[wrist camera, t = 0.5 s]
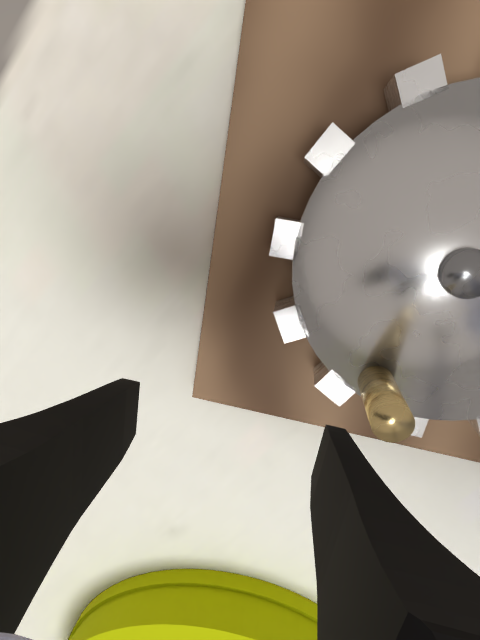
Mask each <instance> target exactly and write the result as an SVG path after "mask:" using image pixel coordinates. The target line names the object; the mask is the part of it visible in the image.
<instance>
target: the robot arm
mask: <svg viewBox="0 0 480 640" xmlns="http://www.w3.org/2000/svg"><path fill="white" fill-rule="evenodd" d="M139 387H140V382H137V381H132V380H128V379H124V378H122V379H119V380H116V381H114V382H111V383H109V384H106V385H104V386H102V387H100V388H97V389H95V390H93V391H90V392H88V393H86V394H83V395H81V396H78V397H76V398H74V399H71V400H69V401H66V402H63V403H61V404H58V405H56V406H53V407H50V408H48V409H45V410H42V411H40V412H37V413H34V414H31V415H27V416H24V417H21V418H17V419H14V420H10V421H7V422H3V423H0V640H32V639H29V638H25V637H22V636H19V635H16V634H14V633H15V631H16V629H17V627H18V626H19V624H20V622H21V620H22V618H23V616H24V614H25V612H26V611H27V609H28V607H29V605H30V603H31V601H32V599H33V597H34V596H35V594H36V592H37V590H38V588H39V587H40V585H41V583H42V581H43V580H44V578H45V576H46V574H47V572H48V571H49V569H50V567H51V565H52V563H53V562H54V560H55V558H56V557H57V555H58V553H59V551H60V550H61V548H62V546H63V545H64V543H65V541H66V539H67V538H68V536H69V534H70V533H71V531H72V529H73V528H74V526H75V525H76V523H77V522H78V520H79V519H80V517H81V516H82V515H83V513H84V512H85V510H86V509H87V508H88V506H89V505H90V504H91V502H92V501H93V499H94V498H95V497H96V495H97V494H98V493H99V491H100V490H101V488H102V487H103V486H104V484H105V483H106V482H107V480H108V479H109V477H110V476H111V475H112V473H113V472H114V470H115V469H116V467H117V466H118V465H119V463H120V462H121V460H122V459H123V457H124V455H125V453H126V451H127V450H128V448H129V446H130V444H131V442H132V440H133V438H134V436H135V434H136V425H137V412H138V400H139ZM310 509H311V521H312V533H313V545H314V556H315V567H316V579H317V640H480V577H479V576H478V575H477V574H476V573H474V572H473V571H472V570H471V569H470V568H468V567H467V566H466V565H465V564H464V563H462V562H461V561H460V560H459V559H458V558H457V557H456V556H454V555H453V554H452V553H451V552H450V551H449V550H448V549H447V548H445V547H444V546H443V545H442V544H441V543H440V542H439V541H438V540H437V539H436V538H434V537H433V536H432V535H431V534H430V533H429V532H428V531H427V530H426V529H425V528H424V527H423V526H422V525H421V524H420V523H419V522H418V521H417V520H416V519H415V518H414V516H413V515H412V514H411V513H410V512H409V511H408V510H407V509H406V508H405V507H404V506H403V505H402V504H401V502H400V501H399V500H398V499H397V498H396V497H395V495H394V494H393V493H392V492H391V491H390V489H389V488H388V487H387V486H386V485H385V483H384V482H383V481H382V480H381V478H380V477H379V476H378V474H377V473H376V472H375V470H374V469H373V468H372V466H371V465H370V464H369V462H368V461H367V459H366V458H365V457H364V455H363V454H362V452H361V451H360V449H359V448H358V447H357V445H356V444H355V442H354V441H353V439H352V438H351V436H350V435H349V433H348V432H347V430H346V429H344V428H340V427H335V426H331V425H326V426H325V429H324V433H323V437H322V440H321V444H320V447H319V451H318V455H317V458H316V462H315V465H314V469H313V472H312V476H311V501H310Z"/></svg>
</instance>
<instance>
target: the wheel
mask: <svg viewBox="0 0 480 640" xmlns="http://www.w3.org/2000/svg"><path fill="white" fill-rule="evenodd" d="M383 90H384V94H385V98H386V102H387V106H388V110H389V112H388V113H387V114H385V115H384V116H382V117H381V118H379V119H378V120H376V121H375V122H374V123H372V124H371V125H370V126H369V127H368V128H366V129H365V130H364V131H363V132H362V133H360V134H359V135H358V136H357V137H356V138H355V139H354V140H351V139H350V138H349V137H348V136H347V135H346V134H345V133H344V132H343V131H342V130H341V129H339V128H338V127H337V126H336V125H335V124H334V123H333V122H332V123H331V125H330V126H329V127H328V128H327V130H326V131H325V132H324V133H323V135H322V136H321V137H320V138H319V140H318V141H317V142H316V143H315V145H314V146H313V147H312V148H311V150H310V151H309V152H308V153H307V155H306V156H305V157H304V163H305V164H306V165H308V166H309V167H310V168H311V169H312V170H313V171H314V172H315V173H317V174H318V175H319V176H320V177H321V179H320V180H319V182H318V184H317V186H316V187H315V189H314V191H313V193H312V194H311V196H310V198H309V200H308V203H307V205H306V207H305V210H304V212H303V215H302V217H301V220H296V219H290V218H285V217H279V216H278V217H277V218H276V220H275V226H274V231H273V236H272V242H271V247H270V252H269V256H274V257H279V258H284V259H290V260H293V261H292V286H293V294H294V296H291V297H287V298H284V299H281V300H278V301H276V303H275V307H274V311H273V313H274V316H275V319H276V321H277V324H278V327H279V330H280V332H281V335H282V338H283V341H284V343H288V342H291V341H295V340H298V339H301V338H305V337H306V338H307V340H308V342H309V343H310V345H311V347H312V348H313V350H314V352H315V353H316V355H317V356H318V358H319V359H320V360H321V361H320V362H319V363H318V364H317V365H316V366H315V367H314V368H313V371H314V384H315V387H316V388H317V389H319V390H320V391H321V392H322V393H323V394H325V395H326V396H327V397H328V398H329V399H331V400H332V401H333V402H334V403H335V404H337V405H338V406H339V407H340V406H341V405H342V404H343V403H344V402H345V401H347V400H348V399H349V398H350V397H351V396H352V395H353V394H354V393H356V394H358V395H359V396H361V397H362V400H363V404H364V407H365V410H366V413H367V417H368V420H369V423H370V426H371V429H372V432H373V433H374V435H375V436H376V437H377V438H379V439H381V440H383V441H386V442H400V441H403V440H405V439H406V438H408V437H409V436H410V435H412V436H416V437H420V438H422V436H423V433H424V431H425V428H426V425H427V423H428V420H429V419H431V420H448V421H457V420H468V421H469V423H470V424H471V425H472V427H473V428H474V429H475V431H476V432H477V433H478V435H479V436H480V78H474V79H470V80H465V81H461V82H456V83H451V84H448V85H447V80H446V75H445V71H444V66H443V61H442V56H441V54H439V55H436V56H434V57H432V58H430V59H427V60H425V61H423V62H421V63H418V64H416V65H414V66H412V67H409V68H407V69H405V70H403V71H400V72H398V73H396V74H394V76H393V77H392V78H391V80H390V81H389V82H388V84H387V85H386V86H385V88H384V89H383Z"/></svg>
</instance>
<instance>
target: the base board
mask: <svg viewBox="0 0 480 640" xmlns="http://www.w3.org/2000/svg"><path fill="white" fill-rule="evenodd" d="M439 54H441V56H442V61H443V66H444V71H445V75H446V80H447V85H448V84H451V83H456V82H461V81H465V80H470V79H474V78H480V0H246V3H245V11H244V18H243V26H242V33H241V40H240V48H239V55H238V63H237V70H236V77H235V85H234V92H233V100H232V107H231V114H230V122H229V129H228V137H227V144H226V151H225V159H224V166H223V174H222V181H221V188H220V196H219V203H218V211H217V218H216V225H215V233H214V240H213V248H212V255H211V262H210V270H209V277H208V285H207V292H206V299H205V307H204V314H203V322H202V329H201V336H200V344H199V351H198V359H197V366H196V373H195V381H194V388H193V396H192V397H195V398H199V399H203V400H208V401H212V402H217V403H221V404H225V405H230V406H234V407H239V408H243V409H247V410H252V411H256V412H261V413H265V414H269V415H274V416H278V417H282V418H287V419H291V420H296V421H300V422H304V423H309V424H313V425H318V426H322V427H325V426H326V425H331V426H335V427H340V428H344V429H346V430H347V432H348V433H353V434H357V435H361V436H366V437H370V438H375V439H379V438H377V437H376V436H375V435H374V433H373V432H372V429H371V426H370V423H369V420H368V417H367V413H366V410H365V407H364V404H363V400H362V397H361V396H359V395H358V394H356V393H354V394H353V395H352V396H351V397H350V398H349V399H348V400H347V401H345V402H344V403H343V404H342V405H341V406H340V407H339V406H338V405H337V404H335V403H334V402H333V401H332V400H331V399H329V398H328V397H327V396H326V395H325V394H323V393H322V392H321V391H320V390H319V389H317V388H316V387H315V384H314V371H313V368H314V367H315V366H316V365H317V364H318V363H319V362H320V361H321V360H320V359H319V358H318V356H317V355H316V353H315V352H314V350H313V348H312V347H311V345H310V343H309V342H308V340H307V338H306V337H305V338H301V339H298V340H295V341H291V342H288V343H284V341H283V338H282V335H281V332H280V330H279V327H278V324H277V321H276V319H275V316H274V313H273V311H274V307H275V303H276V301H278V300H281V299H284V298H287V297H291V296H294V294H293V286H292V261H293V260H290V259H284V258H279V257H274V256H269V252H270V247H271V242H272V236H273V231H274V226H275V220H276V218H277V217H278V216H279V217H285V218H290V219H296V220H301V217H302V215H303V212H304V210H305V207H306V205H307V203H308V200H309V198H310V196H311V194H312V193H313V191H314V189H315V187H316V186H317V184H318V182H319V180H320V179H321V177H320V176H319V175H318V174H317V173H315V172H314V171H313V170H312V169H311V168H310V167H309V166H308V165H306V164H305V163H304V157H305V156H306V155H307V153H308V152H309V151H310V150H311V148H312V147H313V146H314V145H315V143H316V142H317V141H318V140H319V138H320V137H321V136H322V135H323V133H324V132H325V131H326V130H327V128H328V127H329V126H330V125H331V123H332V122H333V123H334V124H335V125H336V126H337V127H338V128H339V129H341V130H342V131H343V132H344V133H345V134H346V135H347V136H348V137H349V138H350V139H351V140H354V139H355V138H356V137H357V136H358V135H359V134H360V133H362V132H363V131H364V130H365V129H366V128H368V127H369V126H370V125H371V124H372V123H374V122H375V121H376V120H378V119H379V118H381V117H382V116H384V115H385V114H387V113H388V112H389V110H388V106H387V102H386V98H385V94H384V90H383V89H384V88H385V86H386V85H387V84H388V82H389V81H390V80H391V78H392V77H393V76H394V74H396V73H398V72H400V71H403V70H405V69H407V68H409V67H412V66H414V65H416V64H418V63H421V62H423V61H425V60H427V59H430V58H432V57H434V56H436V55H439ZM379 440H381V439H379ZM392 443H397V444H401V445H405V446H410V447H414V448H419V449H423V450H427V451H432V452H436V453H440V454H445V455H449V456H454V457H458V458H462V459H467V460H471V461H476V462H480V436H479V435H478V433H477V432H476V431H475V429H474V428H473V427H472V425H471V424H470V423H469V421H468V420H457V421H448V420H431V419H429V420H428V423H427V425H426V428H425V431H424V433H423V436H422V438H420V437H416V436H412V435H410V436H409V437H408V438H406V439H405V440H403V441H400V442H392Z"/></svg>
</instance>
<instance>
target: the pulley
mask: <svg viewBox="0 0 480 640" xmlns="http://www.w3.org/2000/svg"><path fill="white" fill-rule="evenodd" d="M68 640H317V604H316V603H314V602H313V601H311V600H309V599H307V598H305V597H303V596H301V595H299V594H297V593H294V592H292V591H290V590H288V589H285V588H282V587H280V586H277V585H275V584H272V583H269V582H266V581H263V580H259V579H256V578H252V577H248V576H244V575H239V574H235V573H229V572H223V571H215V570H205V569H171V570H162V571H156V572H150V573H145V574H141V575H138V576H134V577H131V578H128V579H126V580H123V581H121V582H119V583H117V584H115V585H113V586H111V587H109V588H108V589H106V590H104V591H103V592H102V593H100V594H99V595H98V596H97V597H96V598H94V599H93V600H92V601H91V602H90V603H89V604H88V606H87V607H86V608H85V609H84V611H83V612H82V614H81V616H80V617H79V619H78V621H77V623H76V625H75V627H74V628H73V630H72V632H71V634H70V637H69V639H68Z"/></svg>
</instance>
